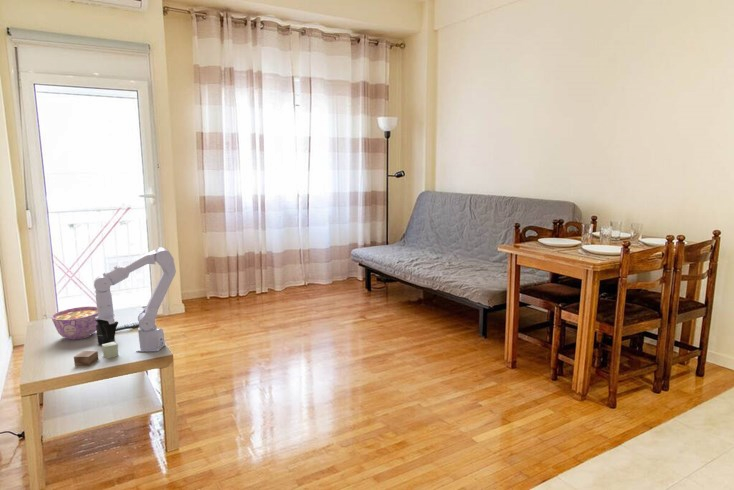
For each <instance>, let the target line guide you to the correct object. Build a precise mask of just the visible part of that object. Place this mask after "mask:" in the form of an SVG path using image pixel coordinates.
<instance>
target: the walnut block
mask: <svg viewBox="0 0 734 490" xmlns="http://www.w3.org/2000/svg"><path fill="white" fill-rule="evenodd" d="M98 353H99V352H98V350H82V351H80V352H79V353H77V354H76V355H74V356H73V362H74V366H75V367H89V366H91V365H94V363H96V362H97V361H99V354H98Z"/></svg>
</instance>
